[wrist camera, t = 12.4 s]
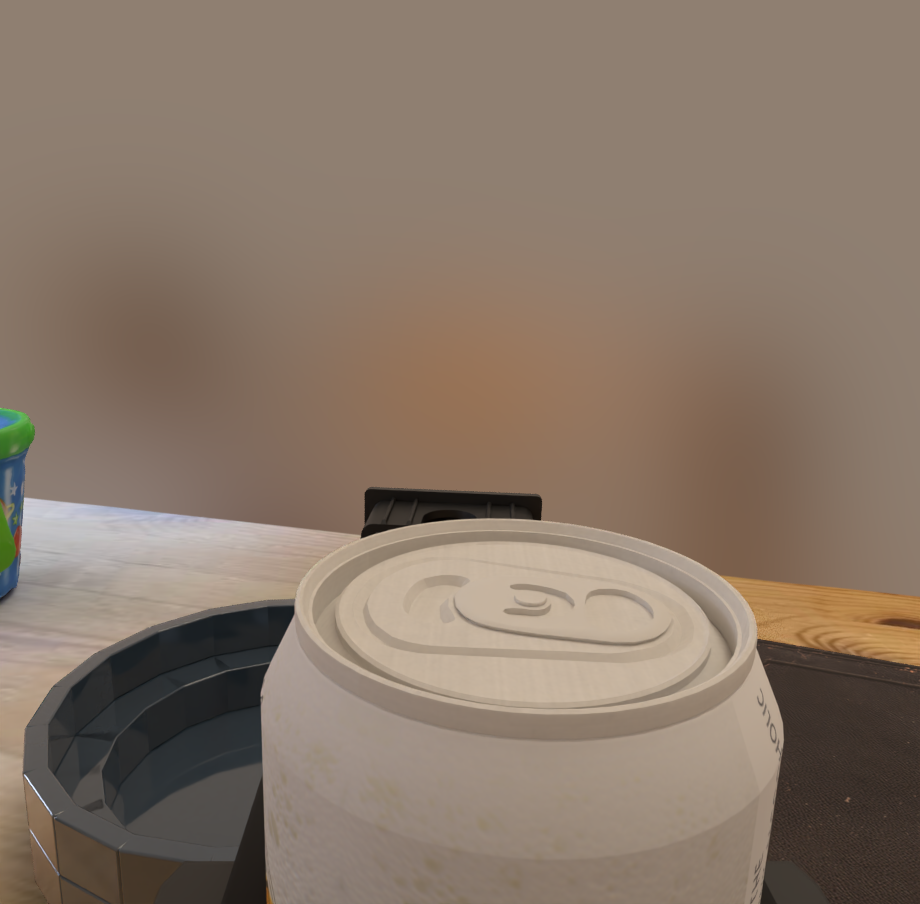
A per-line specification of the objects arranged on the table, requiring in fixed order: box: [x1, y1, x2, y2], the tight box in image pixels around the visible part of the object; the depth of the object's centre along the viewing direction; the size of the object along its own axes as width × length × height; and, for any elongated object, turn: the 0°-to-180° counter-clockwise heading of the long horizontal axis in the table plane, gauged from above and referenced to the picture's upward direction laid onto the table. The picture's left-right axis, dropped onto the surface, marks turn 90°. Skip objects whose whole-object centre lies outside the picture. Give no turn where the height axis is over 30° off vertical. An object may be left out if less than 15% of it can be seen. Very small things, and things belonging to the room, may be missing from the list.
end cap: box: [360, 487, 542, 539], centre depth 46 cm, size 10×7×7 cm
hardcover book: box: [756, 639, 920, 904], centre depth 28 cm, size 16×23×2 cm
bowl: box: [23, 599, 295, 904], centre depth 30 cm, size 16×16×4 cm
